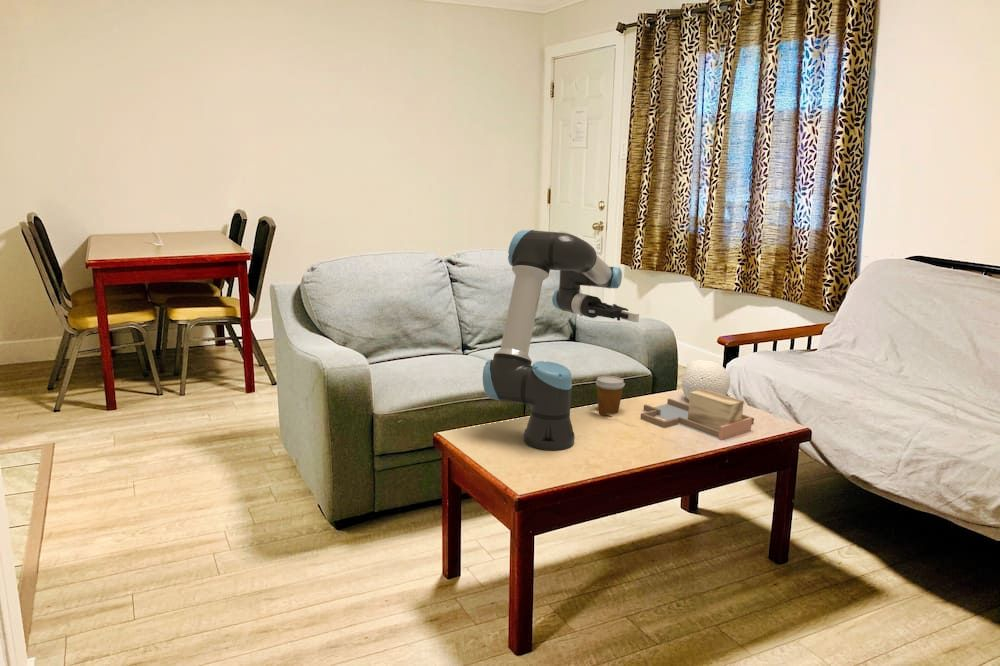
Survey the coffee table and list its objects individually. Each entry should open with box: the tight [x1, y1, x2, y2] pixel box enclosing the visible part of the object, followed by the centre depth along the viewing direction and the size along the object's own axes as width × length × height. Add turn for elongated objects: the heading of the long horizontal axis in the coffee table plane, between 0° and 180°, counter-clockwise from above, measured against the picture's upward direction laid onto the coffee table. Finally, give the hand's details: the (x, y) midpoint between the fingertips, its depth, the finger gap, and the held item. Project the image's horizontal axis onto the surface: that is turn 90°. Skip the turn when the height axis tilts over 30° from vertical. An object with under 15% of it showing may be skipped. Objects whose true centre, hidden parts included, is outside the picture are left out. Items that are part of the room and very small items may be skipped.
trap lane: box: [639, 398, 755, 441], centre depth 247 cm, size 28×32×5 cm
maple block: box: [688, 389, 745, 430], centre depth 241 cm, size 7×15×10 cm, turn 38°
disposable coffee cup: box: [595, 375, 626, 418], centre depth 253 cm, size 10×10×12 cm
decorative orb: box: [681, 359, 731, 400], centre depth 266 cm, size 20×18×16 cm
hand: (637, 318), depth 251 cm, fingers closed
